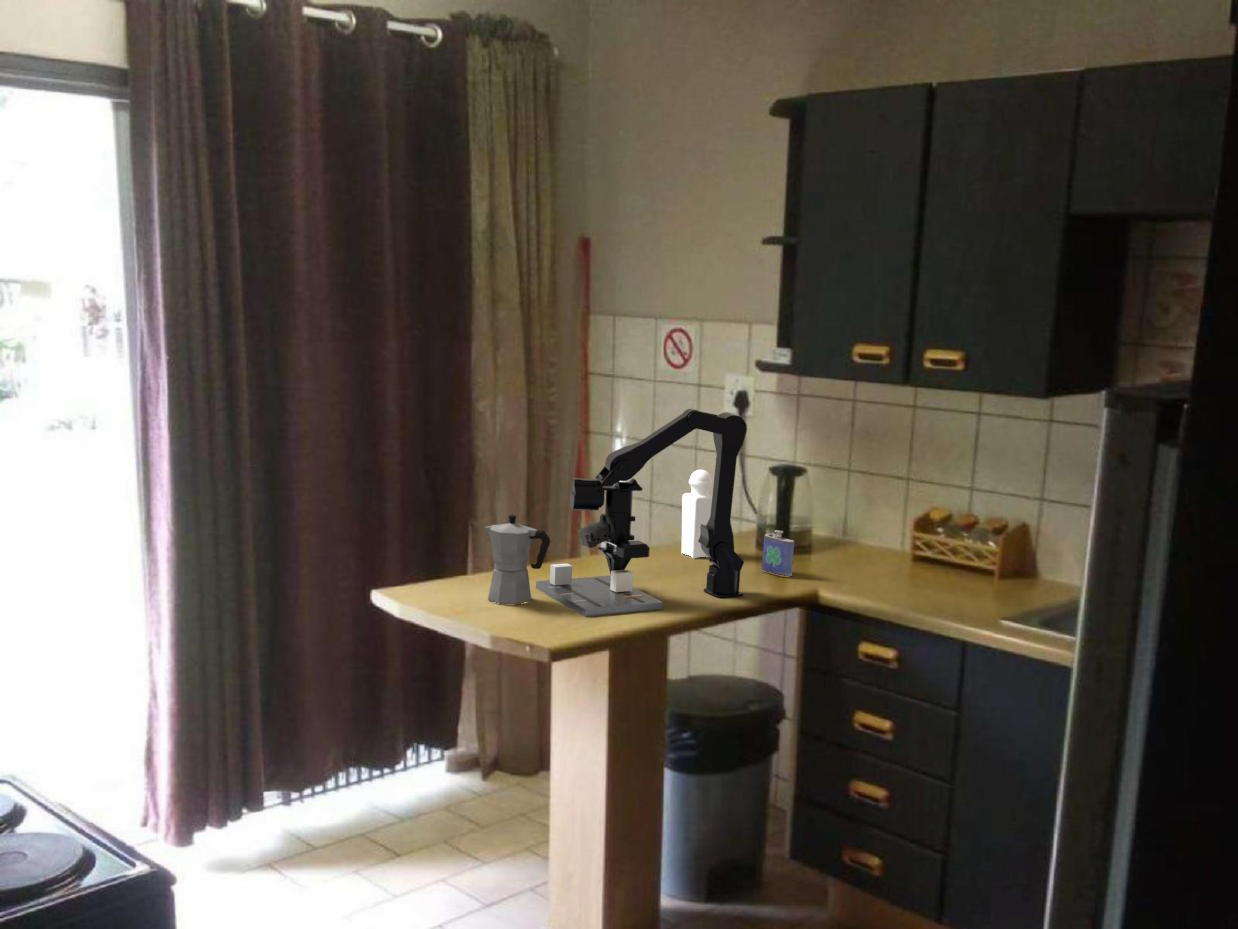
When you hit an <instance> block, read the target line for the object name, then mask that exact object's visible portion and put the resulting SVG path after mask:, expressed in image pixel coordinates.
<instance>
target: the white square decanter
mask: <svg viewBox="0 0 1238 929" xmlns="http://www.w3.org/2000/svg"><path fill="white" fill-rule="evenodd" d="M688 484H689V485H690V492H685V493H683V494H682V496H681V501H682V502H681V512H682V513H681V552H680V554H682V553H683V554H685V555H684V556H686V555H689V556H691V557H692V558H691V557H690V558H691V559H698V558H697V557H705V556H707V555H706V554H705V553H704V552H703V550H702V548H701V543H699V542H698V540H699V538H700V525H701V524H703V525H707V523H708V521H709V519H710V515H711V505H712V495H713V494H710V493H709V492H710V489H711V487H712V485H713V480H712V475H711V474H710V473H709V471H707V470H705V469H696V470H695V471H693V472H692V473H691V474H690V478H689V480H688ZM683 554H682V555H683Z"/></svg>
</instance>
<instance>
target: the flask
mask: <svg viewBox="0 0 1238 929" xmlns="http://www.w3.org/2000/svg"><path fill="white" fill-rule="evenodd" d="M774 532H775V533H768V534H767V533H766V534H764V535H763V536H764V538H763V549H762V551H763V552H762V558H761V560H762V562H761V570H764V571H766V572H771V573H774V574H778V575H784V576H789V577H790V576H792V577H793V563H794V549H795V540H793V539H788V538H785V537H782V536H783V533H784V531H783V530H778V529H776V530H774Z"/></svg>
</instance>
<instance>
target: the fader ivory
mask: <svg viewBox="0 0 1238 929" xmlns="http://www.w3.org/2000/svg"><path fill="white" fill-rule="evenodd" d="M610 576H611V584H610V589H611V590H613V591H614V592H623V591H632V587H633V586H634V584H633V583H634V572H633V571H631V570H629V569H625V570H618V571H611V574H610ZM633 588H634V587H633Z"/></svg>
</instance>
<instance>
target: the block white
mask: <svg viewBox="0 0 1238 929" xmlns="http://www.w3.org/2000/svg"><path fill="white" fill-rule="evenodd" d="M549 567H550V569H549V570H550V571H549V580H550V583H551V584H553V585H567V584H572V578H573V565H571V564H569V563H556V564H550V566H549Z"/></svg>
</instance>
